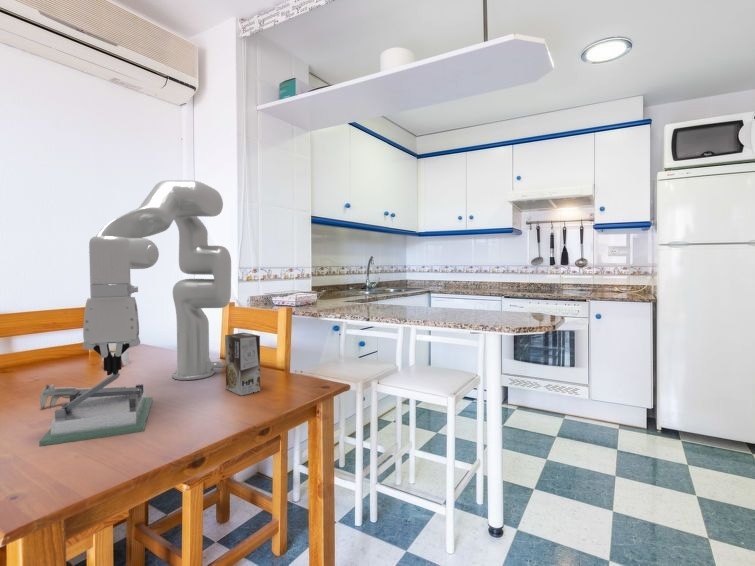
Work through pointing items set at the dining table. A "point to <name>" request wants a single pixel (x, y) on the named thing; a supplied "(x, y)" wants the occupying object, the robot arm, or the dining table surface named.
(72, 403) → the strap
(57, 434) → the base
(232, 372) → the coffee box
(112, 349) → the ink cartridge box
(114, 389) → the strap
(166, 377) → the dining table surface
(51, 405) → the caliper
